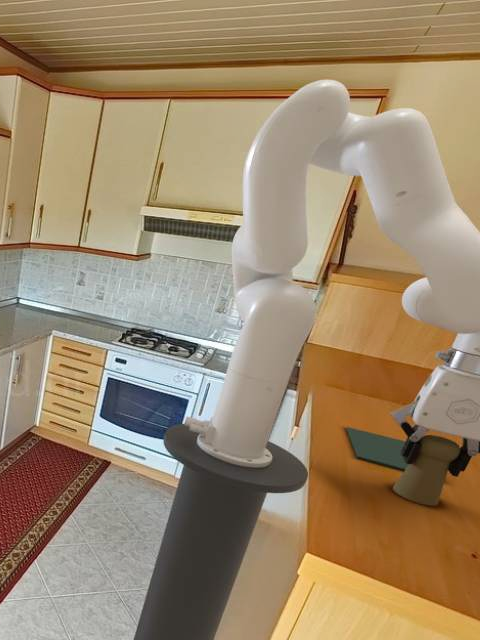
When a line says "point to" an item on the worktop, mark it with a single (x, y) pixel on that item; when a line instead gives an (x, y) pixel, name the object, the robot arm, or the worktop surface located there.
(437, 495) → the cork
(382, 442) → the side mat
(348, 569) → the worktop surface
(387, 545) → the worktop surface
